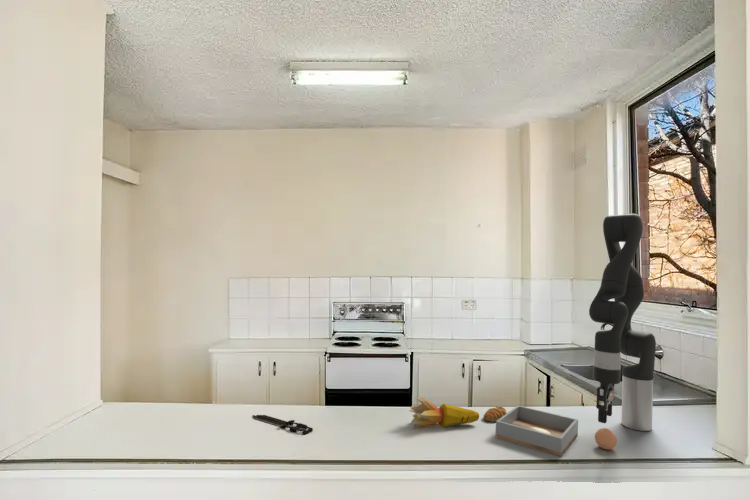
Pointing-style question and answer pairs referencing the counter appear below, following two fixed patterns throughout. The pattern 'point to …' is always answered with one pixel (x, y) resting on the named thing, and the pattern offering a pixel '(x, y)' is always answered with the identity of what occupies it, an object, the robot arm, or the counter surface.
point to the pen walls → (535, 437)
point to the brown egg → (605, 438)
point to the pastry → (494, 414)
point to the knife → (284, 423)
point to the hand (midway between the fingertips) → (605, 418)
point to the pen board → (539, 428)
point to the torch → (440, 414)
